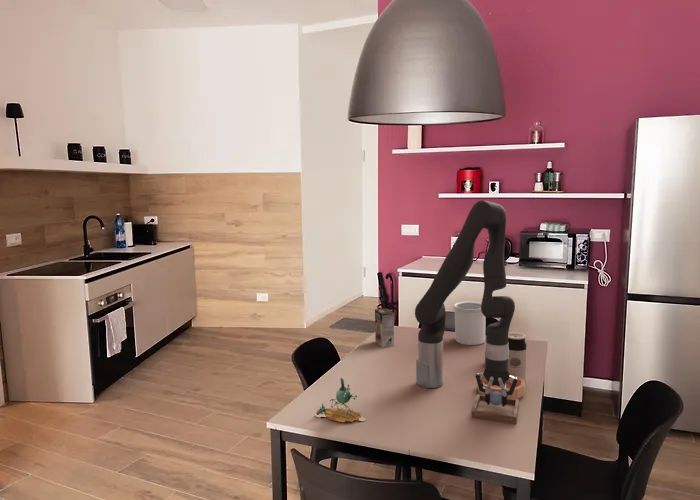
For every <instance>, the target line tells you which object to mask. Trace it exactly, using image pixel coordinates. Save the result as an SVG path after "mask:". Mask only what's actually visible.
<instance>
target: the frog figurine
mask: <svg viewBox="0 0 700 500" xmlns="http://www.w3.org/2000/svg"><path fill="white" fill-rule="evenodd" d="M339 380H340V385H341V387H339V389H338V390H337V391H336V394H335V398H331V399H330V400H329V402H331V403H333V402H335V403H333V404H330V405H331V406H330V407H327V408H326V406H325V405H324V403H321V406H320V407H319V409H318V410H317V411H316V413H315V414H317V415H319V414H325V416H326V417H328V418H327V419H328V420H332V421H335V422H340V423H346V421H347V423H354V422H355V421H354V420H359V418H361V416H362V414H361V413H359V412H357V411H355V410H354V409H350V407H349V406H348V405H347V404H348V403H349V401H350V400H351V399H353V400H356V398H358V395H353V394H351V392H350V391H351V387H350V384H349V383H348V384H347V387H346V386H345V380H344V378H343V377H340V379H339ZM338 405H341V406H344V407H345V408H343V407H339V406H338ZM335 406H336V407H335ZM334 407H335V408H334ZM360 415H361V416H360ZM353 421H354V422H353Z"/></svg>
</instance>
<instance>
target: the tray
mask: <svg viewBox="0 0 700 500" xmlns="http://www.w3.org/2000/svg"><path fill="white" fill-rule="evenodd" d="M519 409H520V399H513V398H507V404H506V405H505V406H504V407H503V406H502V403H501V404H500V405H493V404H492V403H491V402H490V404H489V405H487V403H486V402H485V395H481V394H480V393H477V394H476V397H475V399H474V402H473V405H472V408H471V419H472V418H473V419H479V420H485V421H492V422H500V423H505V422H507V423H506V424H512V423H513V424H514V425H516V424H517V421H518V413H519Z"/></svg>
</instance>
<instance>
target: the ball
mask: <svg viewBox="0 0 700 500" xmlns="http://www.w3.org/2000/svg"><path fill="white" fill-rule="evenodd" d="M489 399H490V402H491V403H492V404H493V405H500V404H501V403H502V395H501V394H500V393H499V392H492V393H491V394H490V398H489Z"/></svg>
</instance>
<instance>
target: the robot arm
mask: <svg viewBox="0 0 700 500" xmlns="http://www.w3.org/2000/svg"><path fill="white" fill-rule="evenodd" d="M506 226H507V214H506V209H505V208H504V207H503V206H502V205H501V204H498V203H496V202H491V201H488V200H479V201H477V202H475V203H474V204H473V205H472V207H471V209H470V210H469V212H468V214H467V217H466V219H465V221H464V223H463V226H462V228H461V230H460V232H459V234H458V236H457V238H456V239H455V242H454V243H453V245H452V246H451V249H449V252H448V253H447V255H446V257H445V258H444V260H443V261H442V264H441V265H440V268H439V270H437V273H436V274H435V276H434V279H433V281H432V283H431V284H430V286H429V287H428V289H427V291H426V292H425V294H424V295H423V296H422V298H421V299H420V300H419V302H418V303H417V304H416V306H415V309H414V317H415V320H416V321H417V322H418V323H419V324H421V326H420V329H419V331H418V332H417V333H418V334H417V335H418V337H417V338H418V341H417V348H418V349H417V350H418V351H417V352H418V353H417V359H416V361H415V363H416V364H415V369H416V370H415V371H416V372H415V373H416V374H415V377H416V378H415V379H416V384H417V385H418V386H421V387H423V388H425V389H436V388H437V389H438V388H439V387H442V386H443V384H444V379H443V378H444V372H443V371H444V370H443V369H444V368H443V367H444V364H443V363H444V335H445V330H446V306H445V302H446V300H447V298H449V296H450V295H451V294H452V293H453V292H454V290H456V288H457V287H458V286H459V285H460V284H461V282H463V280H464V278H466V276H467V274H468V273H469V271H470V269H471V267H473V266H472V265H473V262H474V260H475V259H474V255H475V243H476V240H477V239H478V237H479V235H480V233H481V232H482V230H483V229H486V230H487V233H488V237H489V239H488V241H489V243H488V248H487V250H486V253H485V255H484V258H483V263H482V270H483V281H484V283H483V285H484V287H483V295H482V300H481V302H480V303H481V312H482V314H483V315H484V316H485V319H499V320H498V321H497V322H494V323H490V324H488V325H487V327H486V328H485V347H484V370H483V372H478V371H477V372H476V373H475V380H476V384H477V383H478V387H479V390H480V391H481V392H484V393H485V402H486V403H487V405H489V404H490V399H489V398H490V392H489V391H490V388H491V385H493V386H494V385H497V386H500V387H501V390H502V393H503V396H502V406H503V407H504V406H505V405H506V404H507V396H508V395H512V394H513V392H514V389H515V386H516V384H517V380H518V377H516V376H515V377H513V376H510V374H509V372H508V367H509V347H508V333H510V332H509V331H510V326H511V323H512V320H513V318H514V315H515V309H516V305H515V300H514V299H513V298H512V297H510V296H508V295H500V296H499V295H495V296H493V293H494V292H495V291H498V290H504V289H505V288H506V287H507V273H506V268H505V267H506V264H505V246H506V245H505V244H506V229H507V228H506ZM483 376H484V377H485V378H486V380H487V381H488V384H487V387H486V388H485V387H484V385H483V382H482V379H483ZM508 379H510V383H512V384H511V387H510V390H507V389H506V384H505V383H506V381H507V380H508Z"/></svg>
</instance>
